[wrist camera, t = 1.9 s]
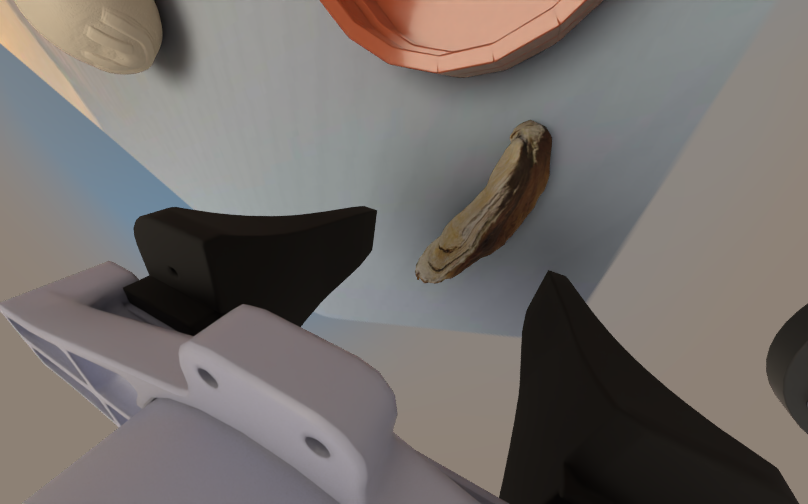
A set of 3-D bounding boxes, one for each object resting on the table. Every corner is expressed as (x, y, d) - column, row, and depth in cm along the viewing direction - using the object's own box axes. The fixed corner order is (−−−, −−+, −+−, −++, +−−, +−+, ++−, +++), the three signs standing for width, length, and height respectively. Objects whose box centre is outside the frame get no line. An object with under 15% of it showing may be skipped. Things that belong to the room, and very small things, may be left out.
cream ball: (174, 97, 24) (65, 97, 18) (110, 12, 23) (-26, -14, 17) (201, 31, 20) (73, 8, 15) (126, -75, 19) (-44, -144, 13)
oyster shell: (505, 156, 20) (435, 284, 20) (469, 124, 18) (393, 265, 18) (591, 156, 14) (493, 327, 15) (553, 110, 13) (443, 307, 13)
